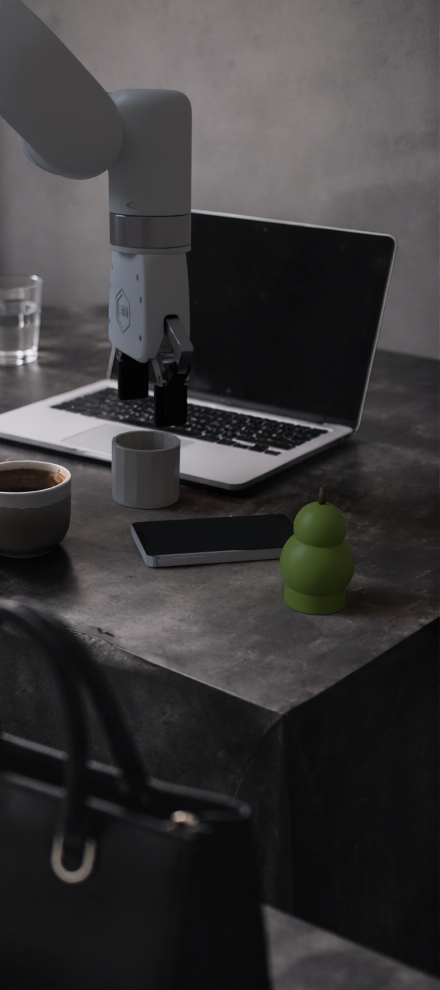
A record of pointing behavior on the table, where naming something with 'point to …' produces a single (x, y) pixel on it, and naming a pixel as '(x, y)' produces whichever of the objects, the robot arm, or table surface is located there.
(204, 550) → the smartphone
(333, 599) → the pear
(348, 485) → the table surface
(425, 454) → the table surface
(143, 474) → the grey faceted cup
